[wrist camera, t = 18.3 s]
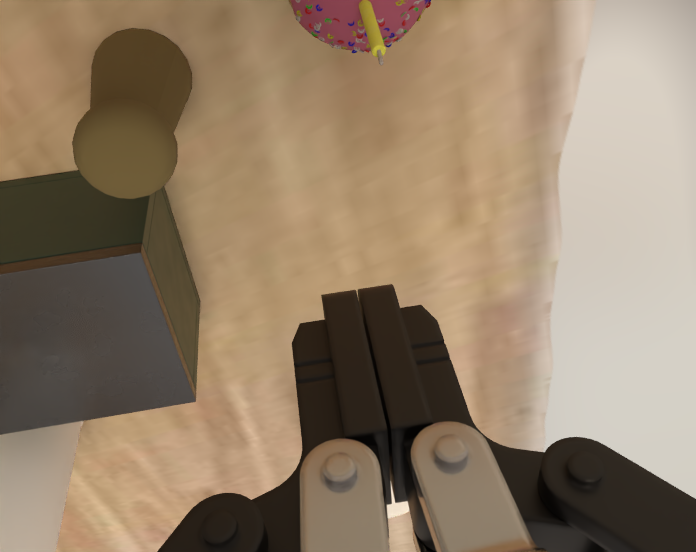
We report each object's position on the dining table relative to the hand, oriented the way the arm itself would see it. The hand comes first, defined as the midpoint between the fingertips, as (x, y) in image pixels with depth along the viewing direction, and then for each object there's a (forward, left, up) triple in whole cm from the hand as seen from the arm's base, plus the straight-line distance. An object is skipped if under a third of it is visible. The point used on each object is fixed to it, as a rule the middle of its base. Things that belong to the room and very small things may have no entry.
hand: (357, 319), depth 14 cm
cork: (-3, -11, -32) cm, 34 cm away
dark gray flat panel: (-3, -26, -22) cm, 34 cm away
